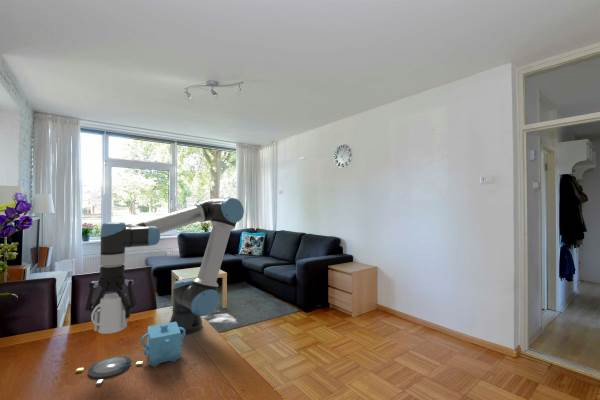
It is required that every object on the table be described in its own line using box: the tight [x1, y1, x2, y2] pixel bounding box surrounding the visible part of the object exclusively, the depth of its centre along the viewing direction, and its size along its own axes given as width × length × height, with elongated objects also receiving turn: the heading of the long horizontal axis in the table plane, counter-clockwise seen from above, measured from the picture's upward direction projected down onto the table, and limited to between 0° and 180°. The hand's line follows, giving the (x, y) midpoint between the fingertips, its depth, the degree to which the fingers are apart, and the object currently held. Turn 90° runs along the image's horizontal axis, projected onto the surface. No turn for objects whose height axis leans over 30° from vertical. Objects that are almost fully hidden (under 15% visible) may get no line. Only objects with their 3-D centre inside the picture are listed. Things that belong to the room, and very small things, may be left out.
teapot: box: [140, 322, 186, 367], centre depth 111 cm, size 18×16×13 cm
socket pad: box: [75, 355, 144, 386], centre depth 104 cm, size 21×17×1 cm
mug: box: [90, 292, 127, 335], centre depth 106 cm, size 12×8×12 cm
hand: (111, 328), depth 106 cm, fingers closed on mug, 8 cm apart
